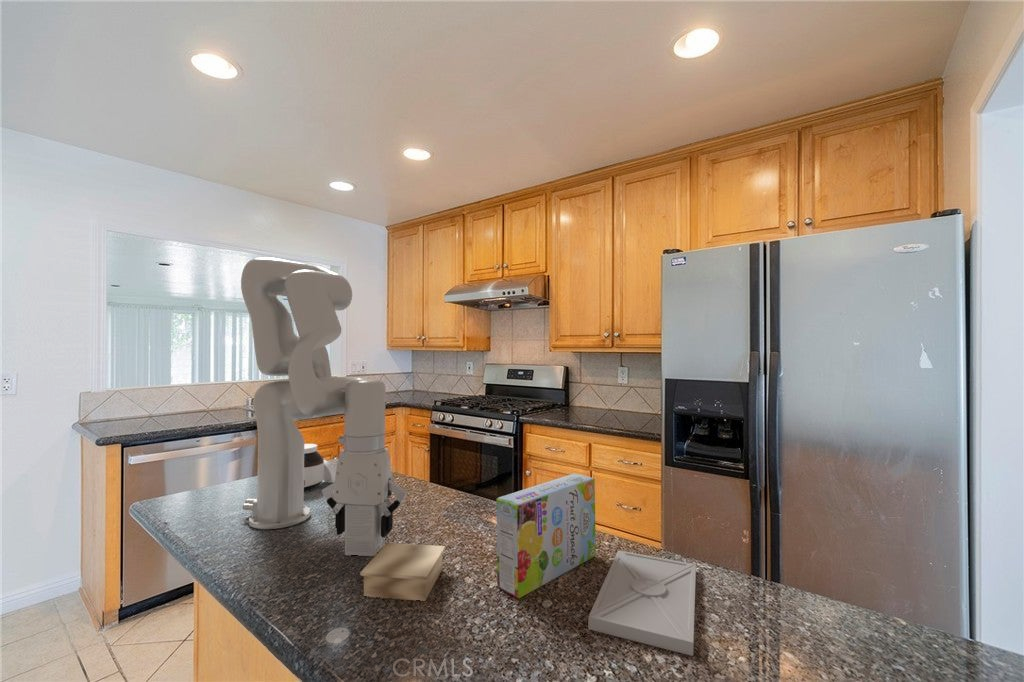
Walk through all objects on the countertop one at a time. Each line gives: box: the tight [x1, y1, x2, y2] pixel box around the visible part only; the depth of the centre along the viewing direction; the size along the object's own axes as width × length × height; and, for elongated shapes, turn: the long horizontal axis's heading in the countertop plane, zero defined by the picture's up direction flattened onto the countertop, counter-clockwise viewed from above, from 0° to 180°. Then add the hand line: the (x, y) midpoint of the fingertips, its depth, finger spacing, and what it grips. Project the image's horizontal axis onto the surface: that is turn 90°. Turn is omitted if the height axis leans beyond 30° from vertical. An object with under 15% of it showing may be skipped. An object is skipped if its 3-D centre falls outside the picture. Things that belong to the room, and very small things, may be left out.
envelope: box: [587, 549, 697, 657], centre depth 71 cm, size 24×2×14 cm
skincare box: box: [344, 505, 383, 557], centre depth 87 cm, size 6×4×12 cm
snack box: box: [496, 473, 597, 599], centre depth 79 cm, size 21×6×15 cm, turn 134°
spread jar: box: [304, 443, 336, 492], centre depth 127 cm, size 12×11×12 cm
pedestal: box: [359, 542, 446, 602], centre depth 75 cm, size 11×11×4 cm
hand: (363, 532), depth 86 cm, fingers open, 8 cm apart
